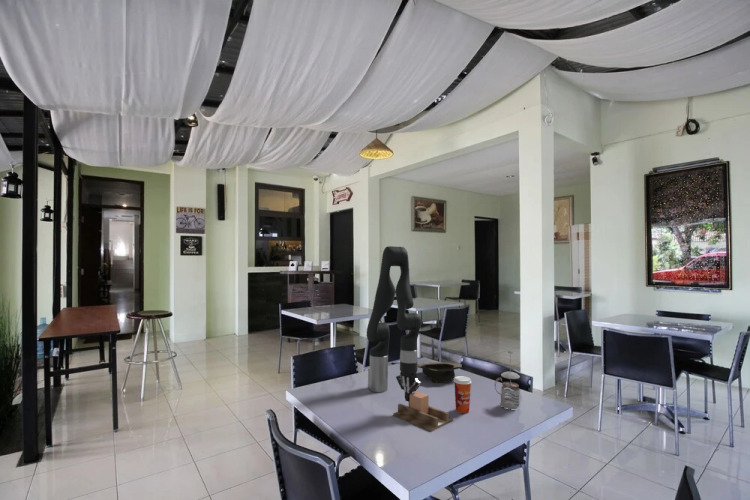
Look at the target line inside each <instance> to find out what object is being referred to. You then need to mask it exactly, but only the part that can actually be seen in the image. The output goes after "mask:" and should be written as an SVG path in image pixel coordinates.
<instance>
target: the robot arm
mask: <svg viewBox="0 0 750 500" xmlns="http://www.w3.org/2000/svg"><path fill="white" fill-rule="evenodd" d="M409 264H410V263H409V254H408V250H407V248H406V247H404V246H391V245H388V246H386V247H385V248H384V249H383V252H382V257H381V265H380V272H379V277H378V278H379V279H378V282H377V287H376V291H375V296H374V302H373V307H372V311H371V315H370V318H369V321H368V325H367V328H366V338H367V340H368V342H369V343H370V342H371V343H377V342H378V343H377V344H376V345H375V346H373V347H371V348H370V349H369V368H368V370H367V373H368V374H367V389H369V391H371V392H374V393H384V392H386V391H388V387H389V386H388V385H389V384H388V383H389V381H388V379H389V376H388V375H389V351H390V338H391V337H390V333H391V332H390V326H389V324H388V323H387V322H380V321H381V320H382V318H383V317H384V316H385V315H386V314H387V312H388V311H389V310H390V309H391V308H392V306H393V304H394V302H395V299H396V303H397V304H396V305H397V312H396V313H397V314H396V315H397V316H396V326H397V327H398V329H399V330H400V331H409V332H408V333H406V334H404V335H402V336H401V337H400V352H399V371H400V372H399V374H398V375H396V376H395V378H396V380H397V383H398V385H399V387H400V389H401V390H403V392H404V399H405V402H408V403H409V401H410V394H412V393H415V392H417V390H418V389H419V388H420V387H421V385H422V381H421V380H420V381H419V379H418V375H417V373H418V367H417V364H418V356H419V355H418V338H419V334H420V330H421V326H422V318H421V315H420V314H419V313H418V312H411V313H409V312H408V313H406V310H410V309H412V308H413V307H414V299H413V294H412V290H411V289H412V288H411V280H410V265H409ZM392 267H399V268H400V269H399V270H400V275H399V279H398V281H397V283H396V286H395V285H394V283H393V280H392V278H391V276H390V274H391V268H392Z"/></svg>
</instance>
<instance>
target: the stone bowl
mask: <svg viewBox="0 0 750 500" xmlns="http://www.w3.org/2000/svg"><path fill="white" fill-rule="evenodd" d="M462 367H463V366H462V365H459V364H456V363H452V362H445V361H444V362H438V361H437V362H430V361H429V362H422V363H417V369H418V368H419V369H421V371H422V374H423V375H425V377H428V378H430V379H431V382H432V383H434V384H435V383H437V384H439V383H444V382H445V383H446V382H447V383H448V382H449V381H450V380H454V379H455V377H456V374H455V373H456V372H455V370H459V369H460V368H462Z"/></svg>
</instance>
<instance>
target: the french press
mask: <svg viewBox="0 0 750 500" xmlns="http://www.w3.org/2000/svg"><path fill="white" fill-rule="evenodd" d="M508 354H509V371H504V372H502V373H501V374H500V375H501V377H497V378H496V379H495V382H494V389H495V391H496V393H497V394H499V395H500V403H499V404H500V406H502V407H504V408H508V409H517V408H520V406H521V405H520V397H521V396H520V389H521V388H519V384H518V383H516V382H512V380H519V379H520V377H521V376H520V375H519V374H518V373H516V372H513V371H511V370H512V369H511V367H512V366H511V362H512V361H511V360H512V359H511V356H512V355H511V354H513V350H510V349H509V350H508ZM502 378H504V379H509V381H504V382H503V379H502ZM498 381H501V382H502V384H501V385H502V386H501V392H500V391H498V390H497V387H496V386H497V383H498ZM500 406H499V407H500Z"/></svg>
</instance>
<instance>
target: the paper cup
mask: <svg viewBox="0 0 750 500" xmlns="http://www.w3.org/2000/svg"><path fill="white" fill-rule="evenodd" d="M453 382H454V398H455V399H454V400H455V411H456V413H459V414H468V413H469V412H470V405H471V404H470V403H471V389H472V388H471V387H472V379H471V378H470V377H468V376H463V375H460V376H459V375H458V376H455V377H454V379H453Z"/></svg>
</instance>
